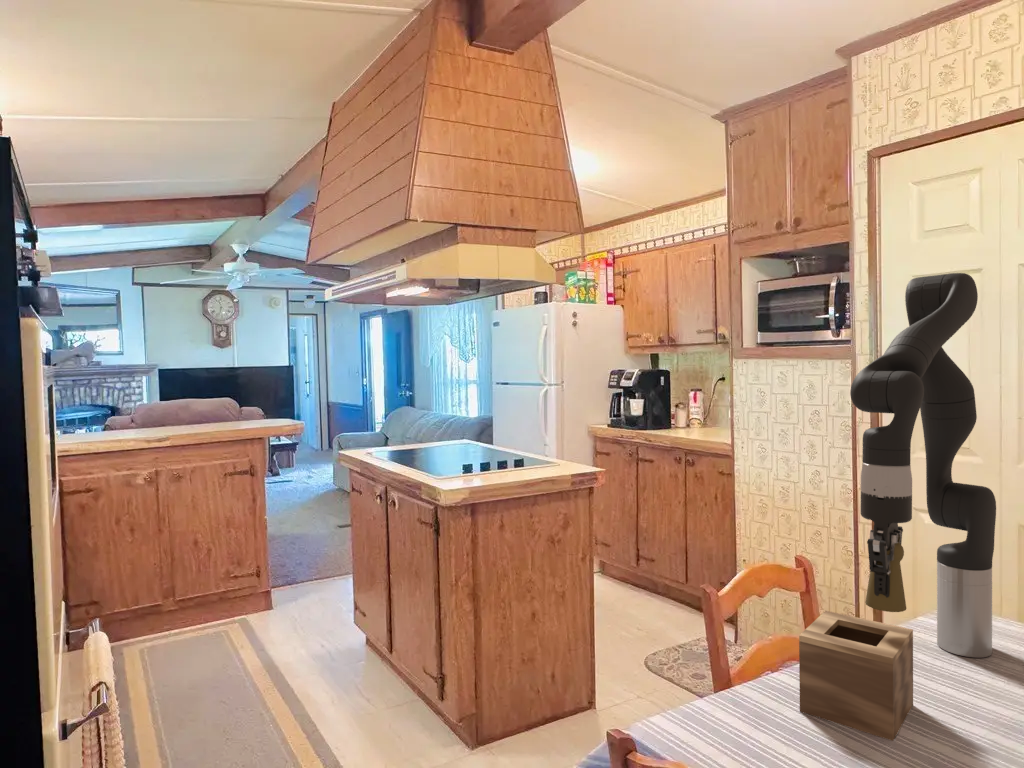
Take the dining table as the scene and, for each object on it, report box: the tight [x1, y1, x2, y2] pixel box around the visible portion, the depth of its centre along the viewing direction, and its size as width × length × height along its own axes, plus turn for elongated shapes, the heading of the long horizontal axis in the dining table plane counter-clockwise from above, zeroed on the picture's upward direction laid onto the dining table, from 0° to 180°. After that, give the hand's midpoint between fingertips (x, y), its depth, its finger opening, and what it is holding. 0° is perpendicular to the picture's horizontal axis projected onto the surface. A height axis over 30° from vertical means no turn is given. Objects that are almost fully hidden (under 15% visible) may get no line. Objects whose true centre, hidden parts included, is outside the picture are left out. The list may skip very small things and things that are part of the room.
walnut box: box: [798, 610, 914, 742], centre depth 114 cm, size 14×14×13 cm
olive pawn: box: [864, 543, 907, 613], centre depth 113 cm, size 6×6×11 cm
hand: (885, 592), depth 113 cm, fingers closed on olive pawn, 4 cm apart
